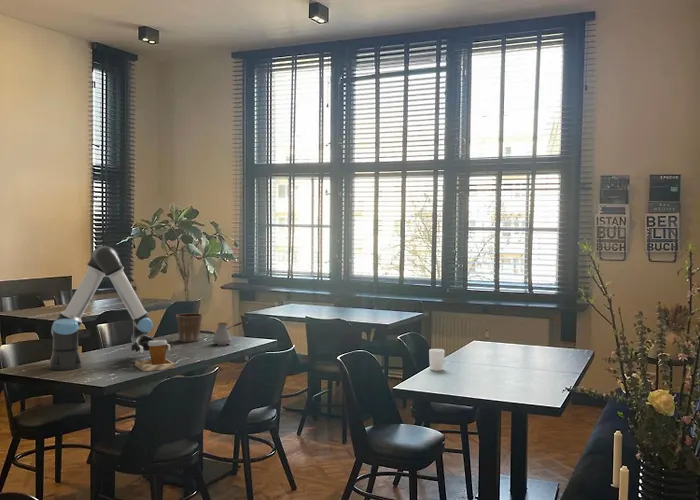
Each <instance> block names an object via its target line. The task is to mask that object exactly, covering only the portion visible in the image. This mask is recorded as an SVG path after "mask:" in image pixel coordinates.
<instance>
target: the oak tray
mask: <svg viewBox="0 0 700 500" xmlns="http://www.w3.org/2000/svg"><path fill="white" fill-rule="evenodd" d="M134 366H135V367H136V368H138V369H139V370H140V371H142V372H149V371H150V372H151V371H160V370H161V371H162V370H171V369H175V367H176V364H175V362H173V361H171V360H170V359H167V357H165V364H161V365H152V361H151V359H145V360H144V359H142V360H135V361H134Z"/></svg>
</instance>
